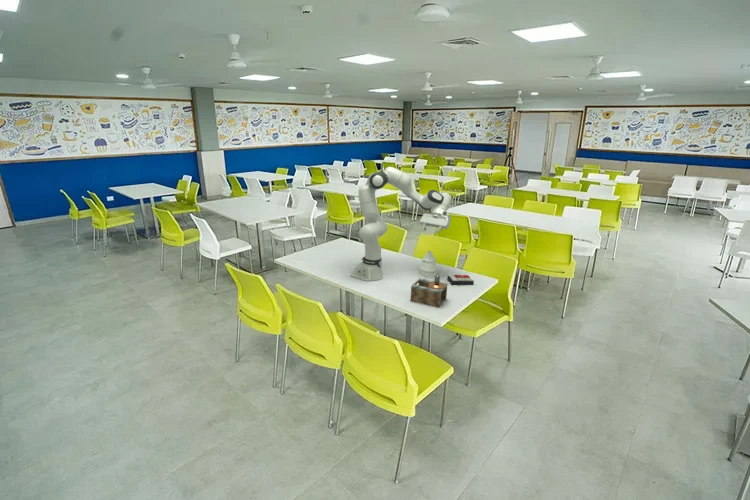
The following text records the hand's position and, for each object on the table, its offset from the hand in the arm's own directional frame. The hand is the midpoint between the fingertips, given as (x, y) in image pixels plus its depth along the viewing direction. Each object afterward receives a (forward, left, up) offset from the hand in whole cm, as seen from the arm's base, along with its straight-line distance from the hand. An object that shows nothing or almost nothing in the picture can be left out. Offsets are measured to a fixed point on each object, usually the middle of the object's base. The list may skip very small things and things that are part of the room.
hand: (430, 231), depth 251 cm
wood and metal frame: (+11, -28, -35) cm, 47 cm away
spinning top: (+16, -28, -30) cm, 44 cm away
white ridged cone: (-4, +14, -36) cm, 38 cm away
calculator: (+20, +10, -36) cm, 43 cm away
